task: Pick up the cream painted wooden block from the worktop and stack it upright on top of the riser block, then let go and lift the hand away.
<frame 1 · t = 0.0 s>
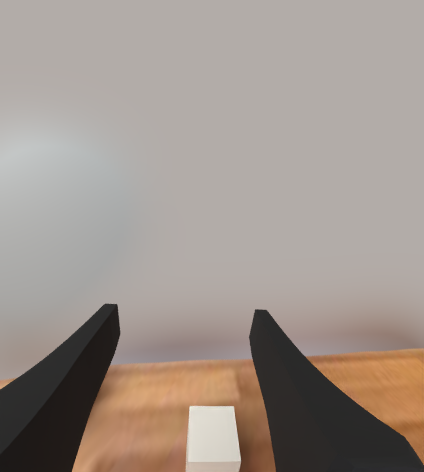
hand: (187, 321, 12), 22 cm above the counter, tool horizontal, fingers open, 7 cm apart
cream block: (207, 469, 24), on the counter
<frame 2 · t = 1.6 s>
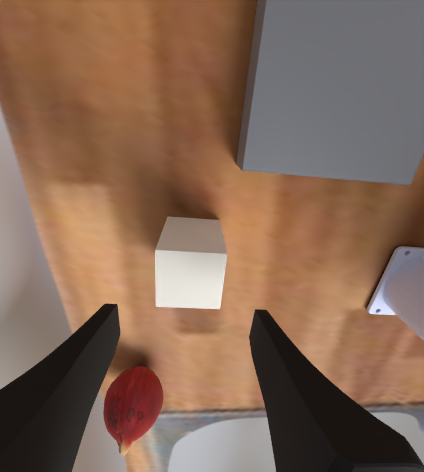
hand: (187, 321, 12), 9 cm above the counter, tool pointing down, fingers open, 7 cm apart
onion: (142, 365, 28), on the counter
riser block: (333, 82, 16), on the counter
cream block: (192, 241, 21), on the counter
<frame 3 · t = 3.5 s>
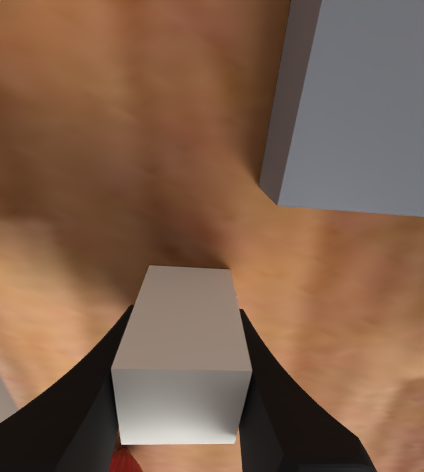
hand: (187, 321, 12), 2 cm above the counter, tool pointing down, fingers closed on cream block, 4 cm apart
onion: (123, 446, 21), on the counter
cream block: (188, 299, 14), on the counter, touching gripper
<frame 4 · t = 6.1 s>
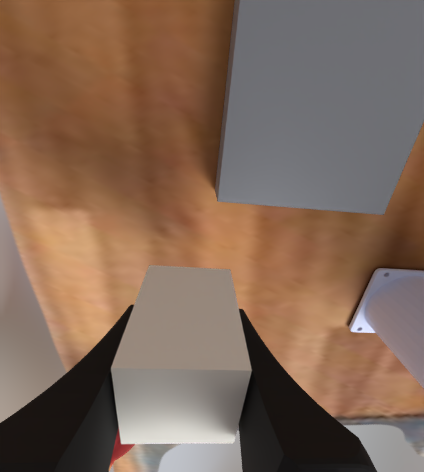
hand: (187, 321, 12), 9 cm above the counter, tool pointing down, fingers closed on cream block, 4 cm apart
onion: (128, 381, 28), on the counter
riser block: (308, 113, 16), on the counter
cream block: (188, 299, 14), point 7 cm above the counter, touching gripper
when the fingers open (6 cm above the counter, at t = 8.9 s): cream block stays where it is, resting on riser block.
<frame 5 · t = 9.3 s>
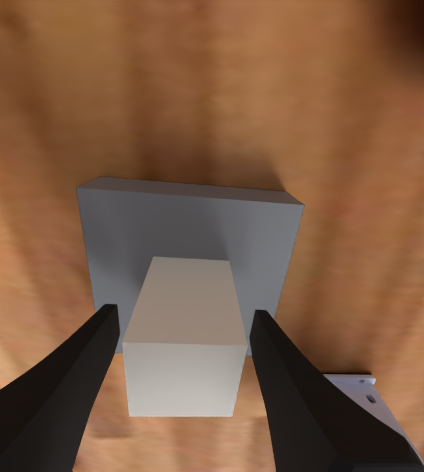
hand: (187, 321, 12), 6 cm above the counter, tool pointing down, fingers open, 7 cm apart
riser block: (190, 263, 17), on the counter
cream block: (189, 289, 15), point 3 cm above the counter, touching riser block
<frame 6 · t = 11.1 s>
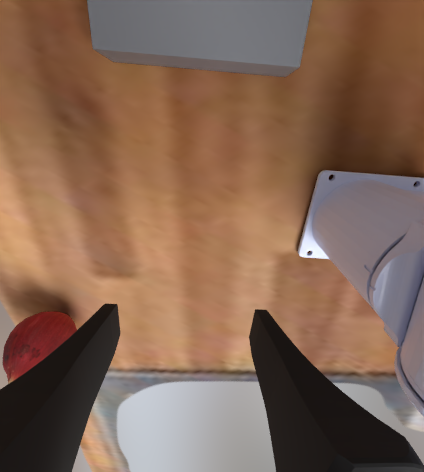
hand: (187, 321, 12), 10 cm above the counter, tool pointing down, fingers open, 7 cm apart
onion: (66, 314, 26), on the counter
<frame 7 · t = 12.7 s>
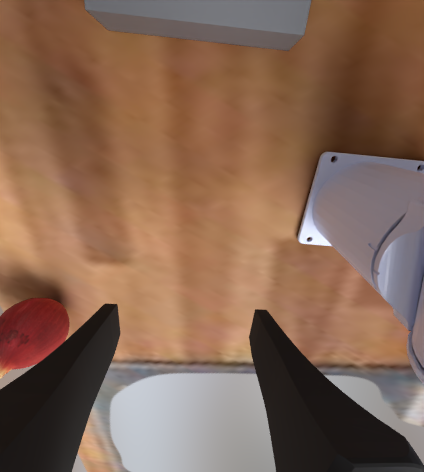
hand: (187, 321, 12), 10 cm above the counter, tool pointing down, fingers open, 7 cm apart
onion: (57, 302, 25), on the counter
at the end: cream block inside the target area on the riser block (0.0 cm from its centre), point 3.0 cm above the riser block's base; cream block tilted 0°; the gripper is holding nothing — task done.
